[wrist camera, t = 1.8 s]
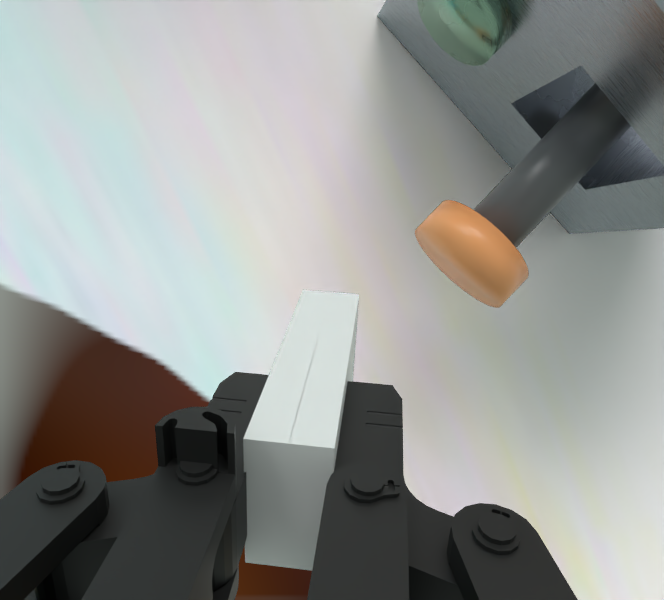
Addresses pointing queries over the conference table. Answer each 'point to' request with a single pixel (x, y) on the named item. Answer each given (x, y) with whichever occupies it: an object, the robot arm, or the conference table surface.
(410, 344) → the conference table surface
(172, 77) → the conference table surface
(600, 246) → the conference table surface
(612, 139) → the disc
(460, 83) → the box
